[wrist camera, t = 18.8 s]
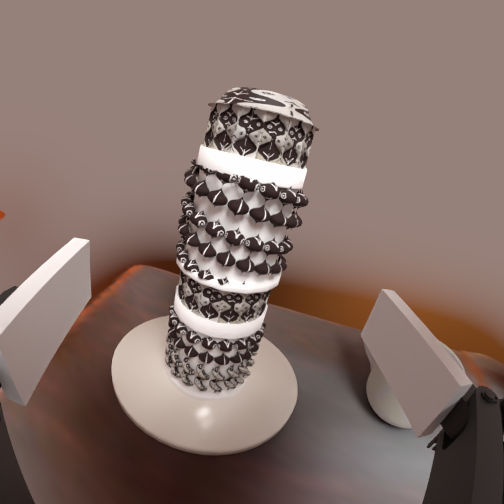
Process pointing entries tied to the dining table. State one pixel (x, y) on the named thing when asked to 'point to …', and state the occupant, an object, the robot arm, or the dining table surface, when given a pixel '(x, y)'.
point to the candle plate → (200, 411)
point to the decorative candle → (235, 237)
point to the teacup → (389, 393)
